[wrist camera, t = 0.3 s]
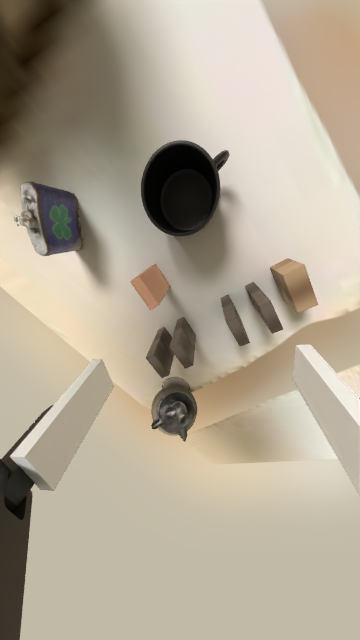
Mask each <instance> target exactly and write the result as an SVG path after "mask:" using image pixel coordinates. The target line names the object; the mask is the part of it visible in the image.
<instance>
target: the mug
mask: <svg viewBox="0 0 360 640" xmlns="http://www.w3.org/2000/svg"><path fill="white" fill-rule="evenodd" d="M228 157H229V152H228V150H224V151H222V152H221V153H219V154H218V155H217V156H216V157H215V158H214V159H212V158H211V157H210V155H209V154H208V153H207V152H206V151H205V150H204V149H203V148H202V147H200V146H199V145H197V144H195V143H193V142H189V141H173V142H170V143H168V144H165V145H164V146H162V147H161V148H159V149H158V150H157V151H156V152H155V153H154V154H153V155H152V157H151V158H150V160H149V161H148V163H147V165H146V167H145V170H144V173H143V177H142V182H141V196H142V202H143V206H144V209H145V211H146V213H147V215H148V217H149V219H150V220H151V221H152V223H153V224H154V225H155V226H156V227H157V228H158V229H160V230H161V231H163V232H165V233H167V234H169V235H173V236H187V235H191V234H194V233H195V232H197V231H199V230H201V229H202V228H204V227H205V226H206V225H207V223H208V222H209V221H210V219H211V218H212V216H213V214H214V212H215V210H216V208H217V205H218V201H219V196H220V179H219V174H218V171H219V170H220V168H221V167H222V166H223V165H224V164H225V163H226V161H227V159H228Z"/></svg>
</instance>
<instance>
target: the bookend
mask: <svg viewBox="0 0 360 640" xmlns="http://www.w3.org/2000/svg"><path fill="white" fill-rule="evenodd" d="M270 269H271V271H272V273H273V276H274V278H275V281H276V283H277V285H278V288H279V290H280V293H281V295H282V297H283V300H284V301H285V302H286V303H287V304H288V305H289V306H290V307H292V308H293V309H294V310H295V311H296V312H297V313H300V312H302V311H305V310H307V309H309V308H312V307H314V306H317V305H318V303H317V300H316V297H315V294H314V291H313V288H312V285H311V282H310V279H309V277H308V274H307V271H306V268H305V265H304V264H301V263H299V262H296V261H293V260H291V259H288V258H287V259H286V260H284V261H282V262H280V263H278V264H276V265H274V266H272V267H270Z"/></svg>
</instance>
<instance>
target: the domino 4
mask: <svg viewBox="0 0 360 640" xmlns="http://www.w3.org/2000/svg"><path fill="white" fill-rule="evenodd" d="M221 303H222V307H223V311H224V316H225V320H226V323H227V324H228V326H229V328H230V330H231V332H232V333H233V335H234V337H235V339H236V340H237V342H238V344H239V346H243V345H245V344H248V343H250V342H249V339H248V337H247V334H246V332H245V329H244V327H243V324H242V321H241V319H240V316H239V314H238V312H237V310H236V309H235V307H234V305H233V303H232V301H231V299H230V297H229V295H226V296H225V297H223V298H221Z"/></svg>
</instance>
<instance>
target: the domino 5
mask: <svg viewBox="0 0 360 640" xmlns="http://www.w3.org/2000/svg"><path fill="white" fill-rule="evenodd" d="M245 287H246V289H247V291H248V293H249V295H250V297H251V299H252V301H253V303H254V305H255V308H256V309H257V311H258V312H259V314H260V315H261V317H262V319H263V320H264V322H265V323H266V325H267V326H268V328H269V330H270V331H271V333H272V334H273V333H275V332H278V331H280V330H283V328H282V325H281V323H280V321H279V319H278V316H277V314H276V312H275V309H274V307H273V305H272V303H271V301H270V300H269V298H268V297H267V296H266V295H265V294H264V293H263V292H262V291H261V290H260V288H259V287H258V286H257V285H256V284H255V283H254V282H252V283H250V284H248V285H246V286H245Z"/></svg>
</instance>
